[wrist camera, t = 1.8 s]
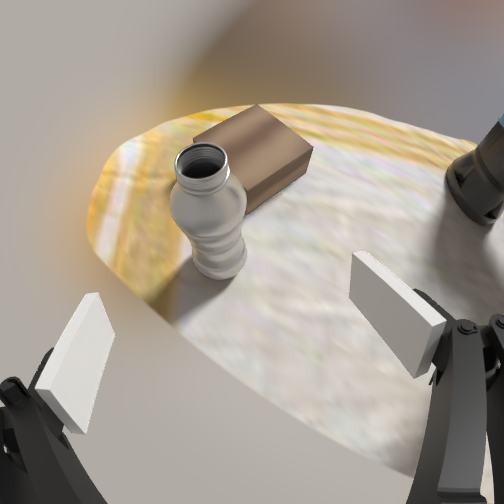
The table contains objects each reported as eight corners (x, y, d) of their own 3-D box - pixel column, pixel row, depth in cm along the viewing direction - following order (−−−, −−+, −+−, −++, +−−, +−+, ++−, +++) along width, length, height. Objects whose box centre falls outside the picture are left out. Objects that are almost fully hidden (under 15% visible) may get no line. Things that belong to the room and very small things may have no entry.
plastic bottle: (249, 282, 36) (255, 195, 18) (196, 286, 36) (149, 204, 17) (244, 235, 39) (246, 125, 20) (194, 239, 38) (158, 133, 20)
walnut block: (306, 172, 43) (313, 147, 37) (247, 214, 40) (247, 190, 34) (255, 130, 46) (256, 104, 40) (197, 164, 43) (192, 138, 37)
